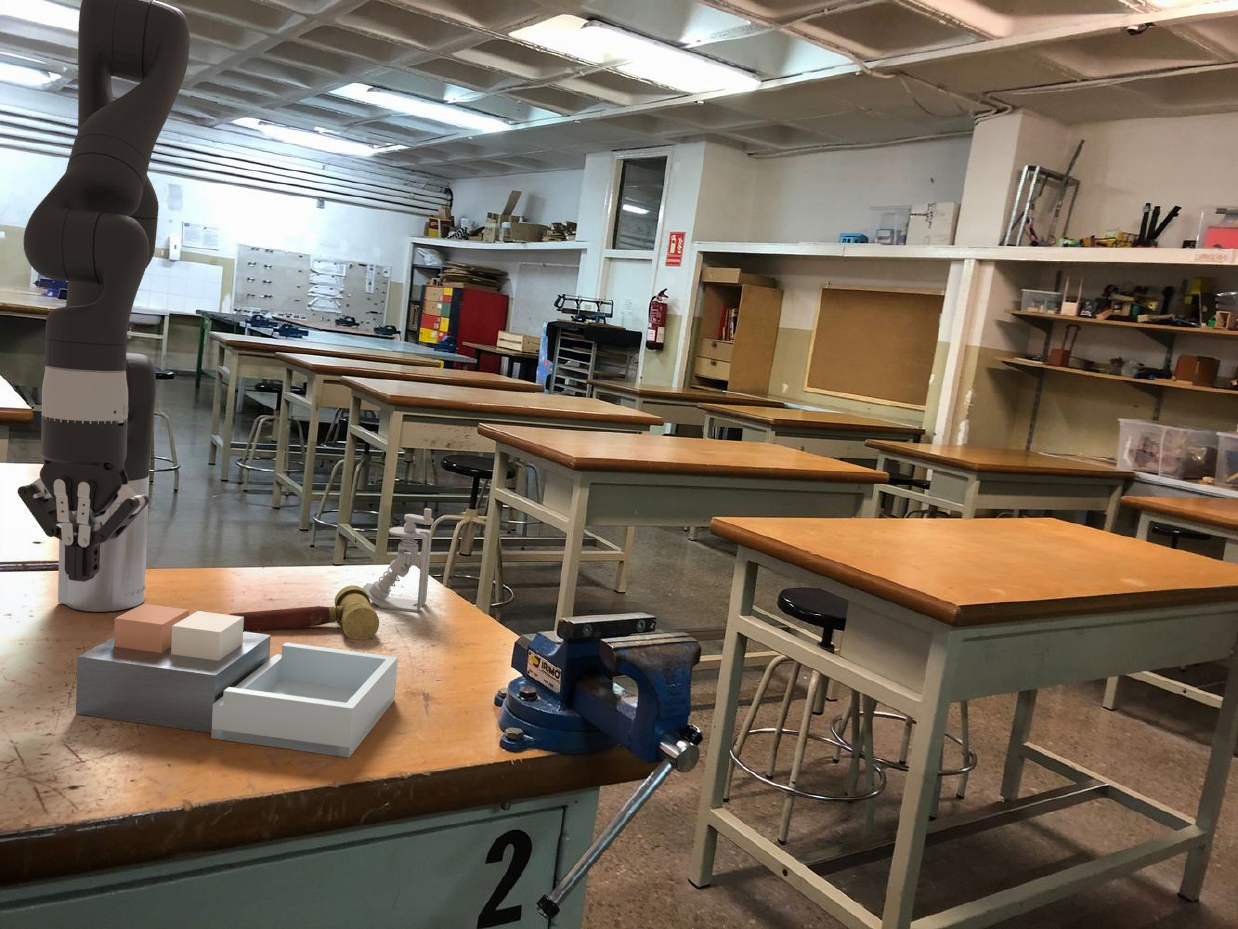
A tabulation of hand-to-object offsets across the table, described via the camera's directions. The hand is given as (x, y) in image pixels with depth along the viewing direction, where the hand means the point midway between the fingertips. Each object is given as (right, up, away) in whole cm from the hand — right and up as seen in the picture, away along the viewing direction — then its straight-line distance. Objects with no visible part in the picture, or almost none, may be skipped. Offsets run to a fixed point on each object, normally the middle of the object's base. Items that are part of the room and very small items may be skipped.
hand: (82, 579), depth 95 cm
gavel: (+12, -10, +26) cm, 30 cm away
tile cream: (+13, -7, 0) cm, 15 cm away
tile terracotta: (+7, -7, 0) cm, 10 cm away
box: (+23, -15, 0) cm, 28 cm away
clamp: (+23, -9, +39) cm, 46 cm away
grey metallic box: (+9, -13, +1) cm, 16 cm away
